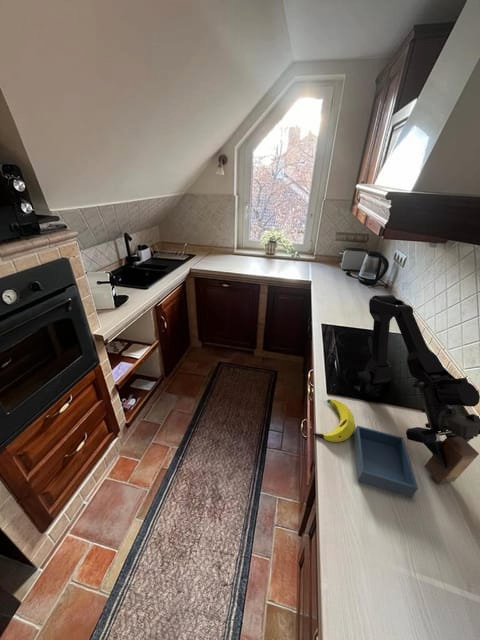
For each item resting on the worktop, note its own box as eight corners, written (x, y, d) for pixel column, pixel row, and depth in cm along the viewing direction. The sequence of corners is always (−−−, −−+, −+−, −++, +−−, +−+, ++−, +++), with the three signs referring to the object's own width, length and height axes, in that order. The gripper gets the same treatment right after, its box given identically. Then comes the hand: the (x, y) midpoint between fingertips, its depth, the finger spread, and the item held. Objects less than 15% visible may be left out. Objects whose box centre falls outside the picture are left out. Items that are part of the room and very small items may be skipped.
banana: (344, 393, 92) (302, 397, 93) (365, 433, 77) (316, 438, 78) (343, 402, 94) (303, 407, 95) (364, 443, 79) (316, 448, 80)
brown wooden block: (423, 466, 72) (444, 438, 66) (438, 463, 73) (460, 435, 67) (439, 485, 68) (463, 457, 61) (454, 482, 69) (479, 454, 62)
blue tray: (352, 435, 82) (356, 425, 80) (397, 447, 79) (403, 437, 77) (357, 482, 70) (362, 471, 67) (410, 498, 66) (418, 488, 64)
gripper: (432, 410, 61) (452, 483, 57) (495, 401, 64) (518, 469, 61) (398, 407, 72) (413, 468, 68) (453, 400, 75) (470, 457, 71)
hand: (453, 466), depth 67 cm, fingers closed on brown wooden block, 5 cm apart
